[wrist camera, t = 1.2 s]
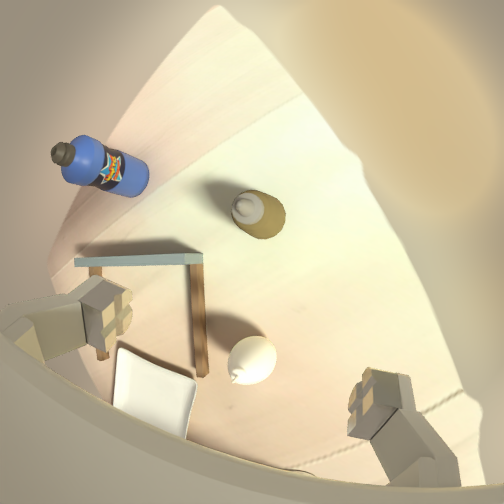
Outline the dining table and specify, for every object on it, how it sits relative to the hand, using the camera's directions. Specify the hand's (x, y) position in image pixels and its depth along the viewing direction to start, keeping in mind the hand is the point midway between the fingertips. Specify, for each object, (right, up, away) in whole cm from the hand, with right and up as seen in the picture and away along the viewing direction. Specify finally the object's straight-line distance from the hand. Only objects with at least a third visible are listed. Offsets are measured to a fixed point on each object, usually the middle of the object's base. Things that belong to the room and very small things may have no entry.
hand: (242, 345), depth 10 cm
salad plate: (-22, -31, +57) cm, 69 cm away
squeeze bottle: (+3, +9, +50) cm, 51 cm away
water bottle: (-27, +20, +59) cm, 68 cm away
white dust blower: (+2, -16, +50) cm, 53 cm away
